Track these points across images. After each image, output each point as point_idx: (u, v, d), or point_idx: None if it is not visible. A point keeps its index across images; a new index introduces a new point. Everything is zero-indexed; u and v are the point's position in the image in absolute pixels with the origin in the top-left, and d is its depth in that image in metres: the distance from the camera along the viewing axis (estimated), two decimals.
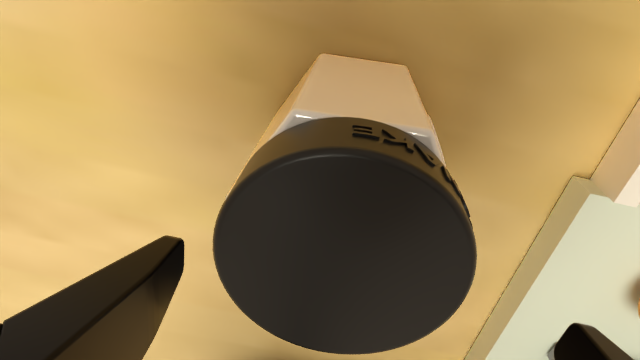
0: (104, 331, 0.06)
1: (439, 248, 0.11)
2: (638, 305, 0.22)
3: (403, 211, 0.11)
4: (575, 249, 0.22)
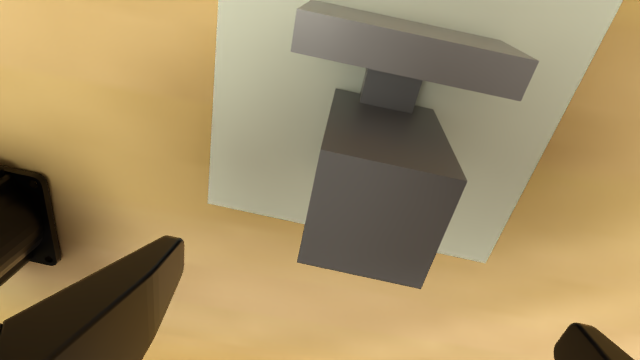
0: (104, 331, 0.06)
1: None
2: None
3: None
4: None
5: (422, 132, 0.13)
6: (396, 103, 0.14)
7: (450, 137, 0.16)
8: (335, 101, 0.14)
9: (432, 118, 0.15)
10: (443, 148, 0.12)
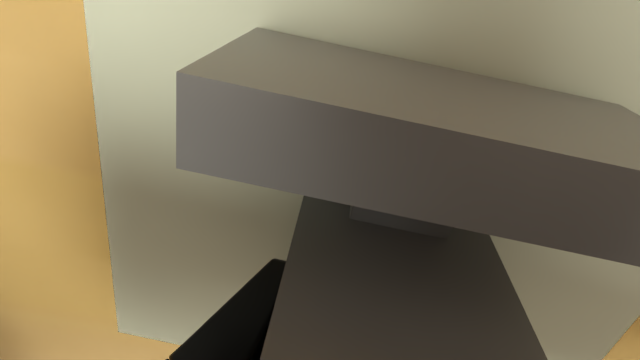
0: None
1: None
2: None
3: None
4: None
5: (478, 309, 0.06)
6: (418, 222, 0.08)
7: (507, 256, 0.10)
8: (301, 223, 0.07)
9: (485, 248, 0.08)
10: None
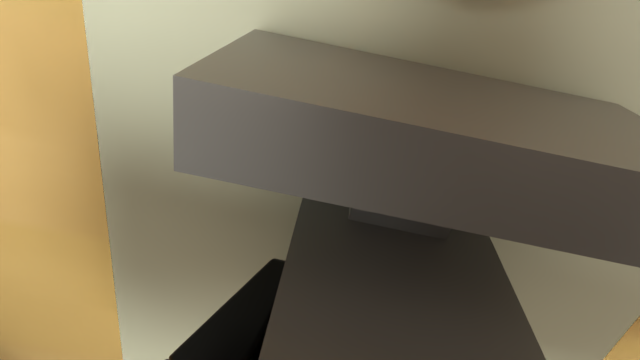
0: None
1: None
2: None
3: None
4: None
5: (476, 309, 0.06)
6: (417, 222, 0.08)
7: None
8: (300, 225, 0.07)
9: (485, 248, 0.08)
10: None
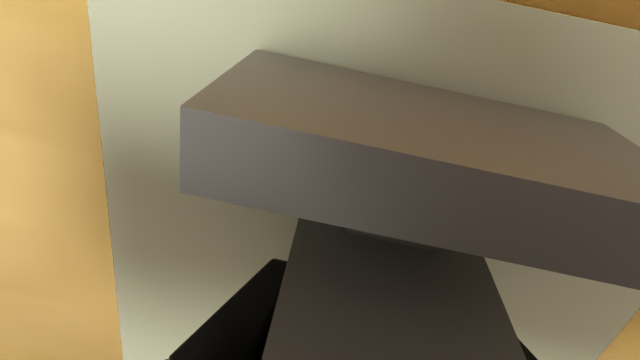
0: None
1: None
2: None
3: None
4: (144, 111, 0.09)
5: (466, 321, 0.07)
6: None
7: None
8: (299, 238, 0.08)
9: (476, 260, 0.08)
10: None
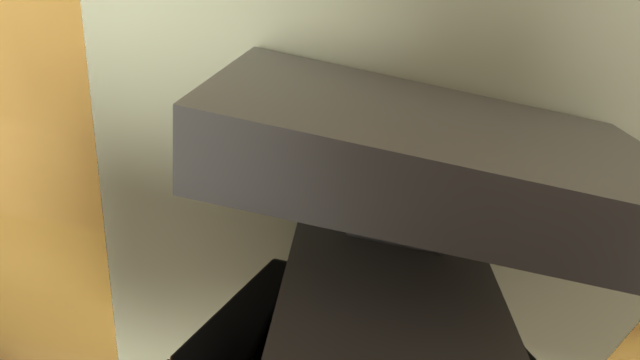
0: None
1: None
2: None
3: None
4: None
5: (471, 329, 0.06)
6: None
7: None
8: (297, 241, 0.07)
9: (480, 264, 0.08)
10: None
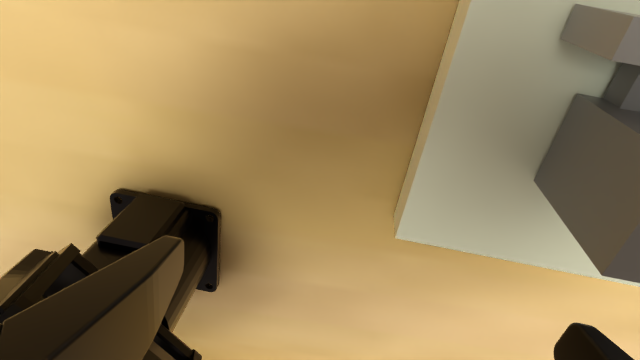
0: (104, 331, 0.06)
1: None
2: None
3: None
4: None
5: None
6: None
7: None
8: (601, 108, 0.14)
9: None
10: None
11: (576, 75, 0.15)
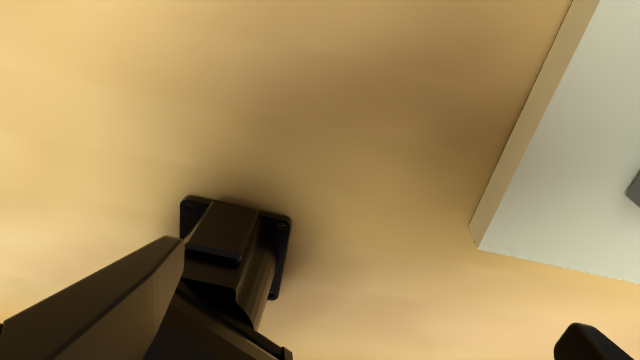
0: (104, 331, 0.06)
1: None
2: None
3: None
4: None
5: None
6: None
7: None
8: None
9: None
10: None
11: None
